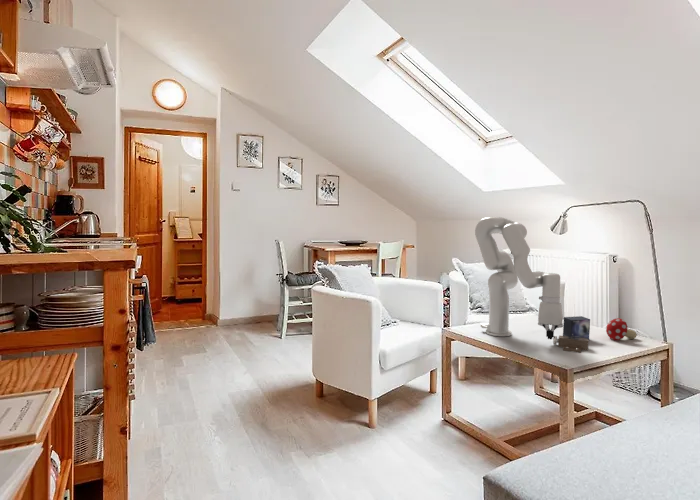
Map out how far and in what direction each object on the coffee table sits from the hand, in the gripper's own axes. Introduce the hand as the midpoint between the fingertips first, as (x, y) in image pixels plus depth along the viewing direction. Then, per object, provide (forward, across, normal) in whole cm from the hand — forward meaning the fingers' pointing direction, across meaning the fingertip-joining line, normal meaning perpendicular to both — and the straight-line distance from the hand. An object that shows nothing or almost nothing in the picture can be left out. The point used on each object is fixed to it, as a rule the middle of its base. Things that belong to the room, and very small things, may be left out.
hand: (549, 338), depth 212 cm
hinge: (+3, +10, 0) cm, 10 cm away
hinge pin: (+3, +9, 0) cm, 10 cm away
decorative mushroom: (+3, +30, +27) cm, 40 cm away
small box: (+3, +10, +17) cm, 20 cm away
